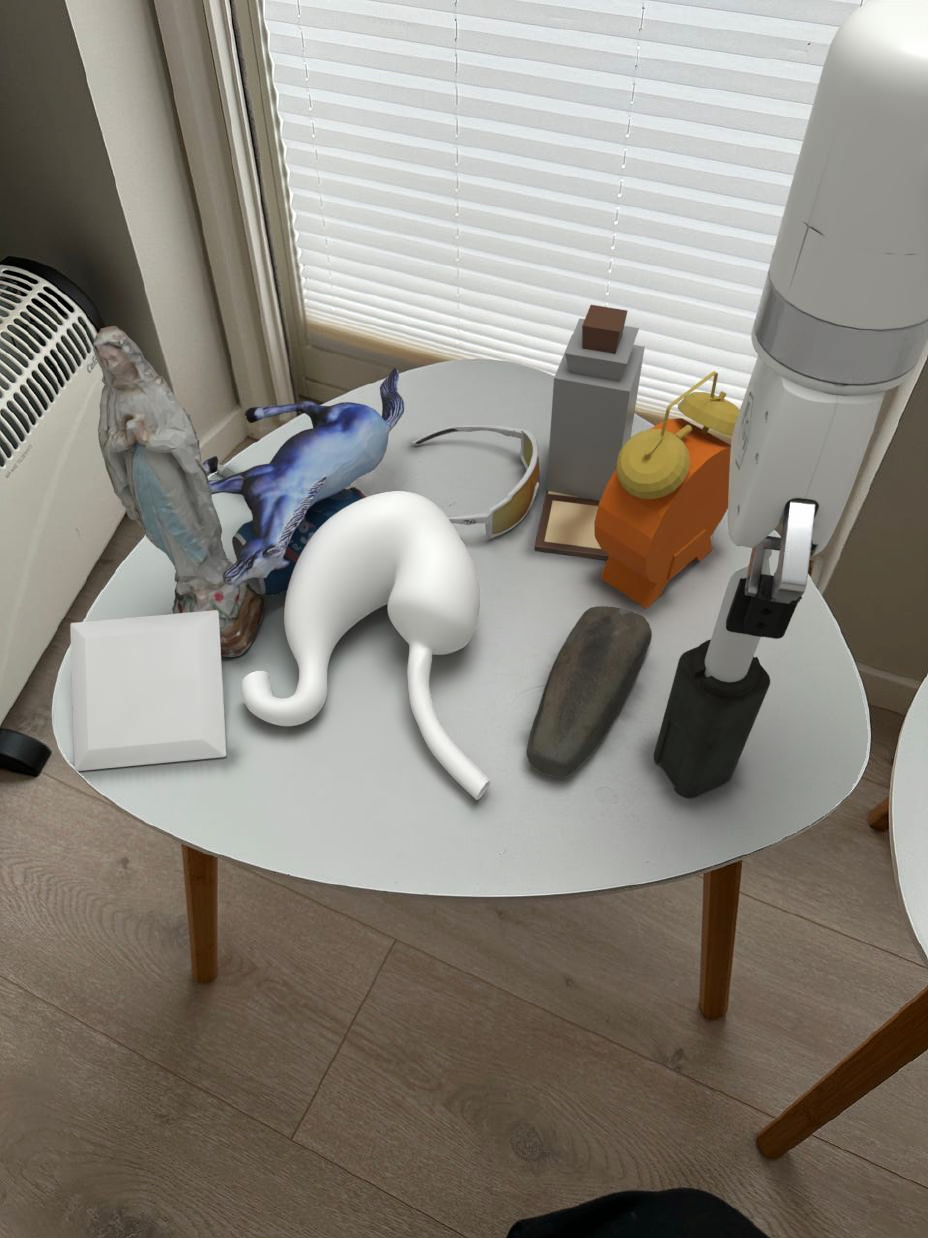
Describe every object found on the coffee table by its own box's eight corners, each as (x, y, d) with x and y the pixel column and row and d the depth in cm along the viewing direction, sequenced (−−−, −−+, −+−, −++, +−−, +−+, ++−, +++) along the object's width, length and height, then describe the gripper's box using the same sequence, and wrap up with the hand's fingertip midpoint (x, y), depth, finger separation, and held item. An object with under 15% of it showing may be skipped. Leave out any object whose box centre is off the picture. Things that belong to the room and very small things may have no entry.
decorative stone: (586, 614, 84) (590, 583, 81) (655, 638, 82) (662, 608, 79) (508, 766, 74) (509, 739, 71) (584, 797, 72) (589, 770, 69)
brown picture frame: (624, 461, 96) (625, 456, 96) (610, 560, 88) (611, 555, 87) (555, 453, 97) (555, 447, 97) (534, 550, 89) (534, 545, 88)
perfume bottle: (546, 490, 93) (557, 333, 79) (562, 446, 97) (575, 290, 83) (613, 504, 91) (636, 347, 77) (627, 459, 95) (651, 302, 81)
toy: (124, 512, 79) (228, 558, 69) (345, 327, 90) (459, 346, 81) (171, 576, 84) (273, 626, 75) (373, 393, 95) (484, 418, 86)
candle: (647, 751, 75) (704, 532, 55) (701, 727, 76) (775, 506, 57) (683, 803, 72) (756, 592, 52) (738, 777, 73) (829, 562, 54)
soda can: (236, 522, 79) (359, 473, 84) (223, 535, 86) (338, 489, 90) (270, 597, 80) (391, 544, 85) (256, 604, 86) (368, 554, 91)
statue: (164, 649, 82) (36, 361, 59) (197, 586, 86) (90, 296, 63) (244, 663, 81) (146, 376, 57) (274, 599, 85) (194, 308, 62)
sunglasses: (521, 555, 88) (515, 516, 84) (375, 537, 93) (363, 500, 89) (558, 458, 96) (554, 418, 93) (423, 446, 101) (414, 408, 97)
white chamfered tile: (69, 771, 73) (91, 771, 78) (223, 756, 74) (236, 757, 79) (65, 620, 75) (86, 630, 80) (215, 607, 76) (228, 617, 81)
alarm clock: (672, 510, 92) (710, 334, 76) (724, 542, 89) (774, 366, 73) (583, 583, 86) (604, 409, 70) (636, 620, 83) (670, 447, 68)
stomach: (235, 702, 83) (449, 864, 76) (177, 653, 71) (425, 840, 64) (392, 511, 89) (605, 645, 82) (362, 434, 77) (611, 584, 69)
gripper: (759, 214, 48) (697, 464, 62) (756, 430, 38) (682, 674, 51) (910, 228, 47) (814, 479, 61) (951, 453, 37) (823, 696, 50)
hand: (754, 568), depth 56 cm, fingers open, 9 cm apart
